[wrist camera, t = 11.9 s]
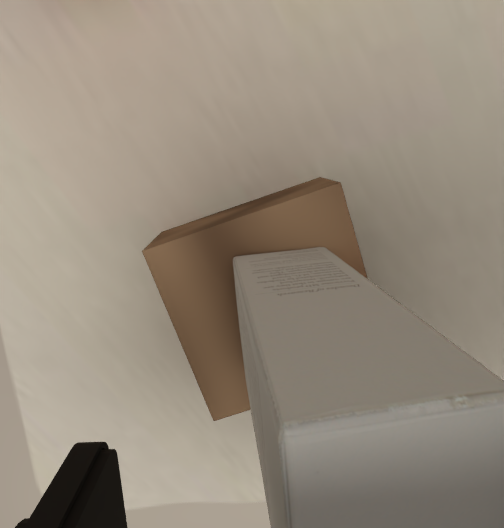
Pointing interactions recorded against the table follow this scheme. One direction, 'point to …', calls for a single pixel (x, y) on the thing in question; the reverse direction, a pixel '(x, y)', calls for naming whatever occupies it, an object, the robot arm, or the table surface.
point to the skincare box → (363, 403)
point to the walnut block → (222, 275)
